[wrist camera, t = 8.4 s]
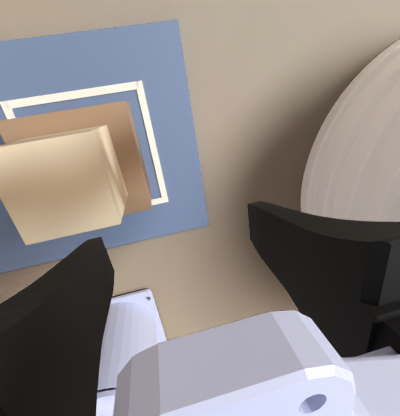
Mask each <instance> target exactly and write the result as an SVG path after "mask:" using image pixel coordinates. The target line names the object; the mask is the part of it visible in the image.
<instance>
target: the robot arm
mask: <svg viewBox="0 0 400 416" xmlns="http://www.w3.org/2000/svg"><path fill="white" fill-rule="evenodd" d="M248 215H249V229H250V239H251V241H252V243H253V245H254V247H255V248H256V250H257V252H258V254H259V255H260V256H261V258H262V259H263V260H264V262H265V263H266V264H267V266H268V267H269V268H270V269H271V271H272V272H273V273H274V275H275V276H276V277H277V278H278V280H279V281H280V282H281V284H282V285H283V286H284V288H285V289H286V291H287V292H288V293H289V295H290V297H291V298H292V300H293V302H294V303H295V305H296V306H297V308H298V310H299V311H300V313H299V312H297V311H295V310H286V311H272V312H266V313H263V314H259V315H255V316H252V317H248V318H245V319H241V320H238V321H234V322H231V323H227V324H224V325H220V326H217V327H213V328H209V329H206V330H202V331H199V332H195V333H192V334H188V335H185V336H181V337H178V338H174V339H171V340H166V337H165V333H164V330H163V327H162V324H161V320H160V317H159V314H158V311H157V307H156V304H155V301H154V297H153V294H152V291H151V290H150V289H145V290H141V291H137V292H133V293H129V294H125V295H121V296H117V297H113V298H112V294H113V286H114V269H113V267H112V264H111V261H110V259H109V256H108V253H107V251H106V248H105V245H104V243H103V240H102V237H97V238H93V239H88V240H86V241H85V242H83V243H82V244H81V245H80V246H78V247H77V248H76V249H75V250H74V251H72V252H71V253H70V254H69V255H68V256H66V257H65V258H64V259H63V260H62V261H60V262H59V263H58V264H57V265H56V266H54V267H53V268H52V269H50V270H49V271H48V272H47V273H45V274H44V275H43V276H41V277H40V278H39V279H38V280H36V281H35V282H33V283H32V284H31V285H29V286H28V287H26V288H25V289H23V290H22V291H20V292H19V293H17V294H16V295H14V296H13V297H11V298H9V299H8V300H6V301H4V302H3V303H1V304H0V416H400V222H375V221H356V220H344V219H336V218H329V217H323V216H317V215H312V214H308V213H303V212H299V211H295V210H291V209H288V208H284V207H281V206H277V205H274V204H270V203H266V202H260V201H259V202H254V203H250V204H248ZM146 297H150V298H146Z"/></svg>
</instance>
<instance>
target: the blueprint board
mask: <svg viewBox="0 0 400 416" xmlns="http://www.w3.org/2000/svg"><path fill="white" fill-rule="evenodd" d="M120 101H126V102H129V104H130V108H131V112H132V116H133V120H134V124H135V128H136V132H137V136H138V140H139V144H140V148H141V152H142V156H143V160H144V164H145V168H146V172H147V176H148V180H149V184H150V188H151V203H152V209H150V210H145V211H141V212H136V213H131V214H127V215H123V217H122V221H121V224H119V225H115V226H110V227H106V228H101V229H97V230H92V231H88V232H83V233H79V234H74V235H70V236H65V237H61V238H57V239H52V240H48V241H43V242H39V243H34V244H30V245H25V243H24V241H23V239H22V237H21V235H20V234H19V232H18V230H17V228H16V226H15V224H14V222H13V221H12V219H11V217H10V215H9V213H8V211H7V210H6V208H5V206H4V204H3V202H2V200H1V198H0V273H4V272H8V271H12V270H17V269H21V268H25V267H30V266H34V265H38V264H43V263H47V262H52V261H56V260H60V259H64V258H65V257H66V256H68V255H69V254H70V253H71V252H72V251H74V250H75V249H76V248H77V247H78V246H80V245H81V244H82V243H83V242H85V241H86V240H88V239H93V238H97V237H102V240H103V243H104V245H105V248H106V249H108V248H112V247H117V246H121V245H125V244H130V243H134V242H139V241H143V240H147V239H152V238H156V237H160V236H165V235H169V234H173V233H178V232H182V231H186V230H191V229H195V228H199V227H204V226H208V225H209V221H208V215H207V208H206V202H205V195H204V189H203V182H202V175H201V169H200V162H199V156H198V149H197V142H196V136H195V129H194V123H193V116H192V110H191V103H190V96H189V90H188V83H187V77H186V70H185V63H184V57H183V50H182V44H181V37H180V31H179V24H178V20H171V21H163V22H155V23H146V24H138V25H130V26H122V27H114V28H106V29H97V30H89V31H81V32H73V33H65V34H57V35H48V36H40V37H32V38H24V39H16V40H8V41H0V121H1V120H7V119H13V118H19V117H26V116H32V115H38V114H45V113H51V112H57V111H63V110H70V109H76V108H82V107H89V106H95V105H101V104H107V103H114V102H120ZM3 144H5V142H4V140H3V138H2V136H1V134H0V145H3Z"/></svg>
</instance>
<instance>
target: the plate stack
mask: <svg viewBox="0 0 400 416" xmlns="http://www.w3.org/2000/svg"><path fill="white" fill-rule="evenodd" d="M301 212H303V213H308V214H312V215H317V216H323V217H329V218H336V219H344V220H356V221H375V222H400V39H399V40H398V41H396V42H395V43H393V44H392V45H390V46H389V47H388V48H386V49H385V50H384V51H383V52H381V53H380V54H379V55H378V56H377V57H375V58H374V59H373V60H372V61H371V62H370V63H369V64H368V65H367V66H366V67H365V68H364V69H363V70H362V71H361V72H360V73H359V74H358V75H357V76H356V77H355V78H354V79H353V80H352V82H351V83H350V84H349V85H348V86H347V88H346V89H345V90H344V92H343V93H342V94H341V96H340V97H339V98H338V100H337V101H336V103H335V104H334V106H333V107H332V109H331V110H330V112H329V114H328V115H327V117H326V119H325V121H324V122H323V124H322V126H321V128H320V130H319V132H318V134H317V136H316V139H315V141H314V143H313V146H312V148H311V151H310V154H309V157H308V160H307V164H306V167H305V171H304V176H303V181H302V188H301Z"/></svg>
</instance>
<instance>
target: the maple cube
mask: <svg viewBox="0 0 400 416" xmlns="http://www.w3.org/2000/svg"><path fill="white" fill-rule="evenodd" d="M127 196H128V193H127V190H126V187H125V183H124V180H123V177H122V173H121V170H120V167H119V163H118V160H117V157H116V153H115V150H114V147H113V143H112V140H111V137H110V133H109V130H108V127H107V125H101V126H95V127H90V128H84V129H78V130H73V131H67V132H61V133H55V134H50V135H44V136H38V137H33V138H27V139H23V140H19V141H15V142H11V143H7V144H3V145H0V198H1V200H2V202H3V204H4V206H5V208H6V210H7V211H8V213H9V215H10V217H11V219H12V221H13V222H14V224H15V226H16V228H17V230H18V232H19V234H20V235H21V237H22V239H23V241H24V243H25V245H30V244H34V243H39V242H43V241H48V240H52V239H57V238H61V237H65V236H70V235H74V234H79V233H83V232H88V231H92V230H97V229H101V228H106V227H110V226H115V225H119V224H121V221H122V217H123V213H124V208H125V204H126V200H127Z"/></svg>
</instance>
